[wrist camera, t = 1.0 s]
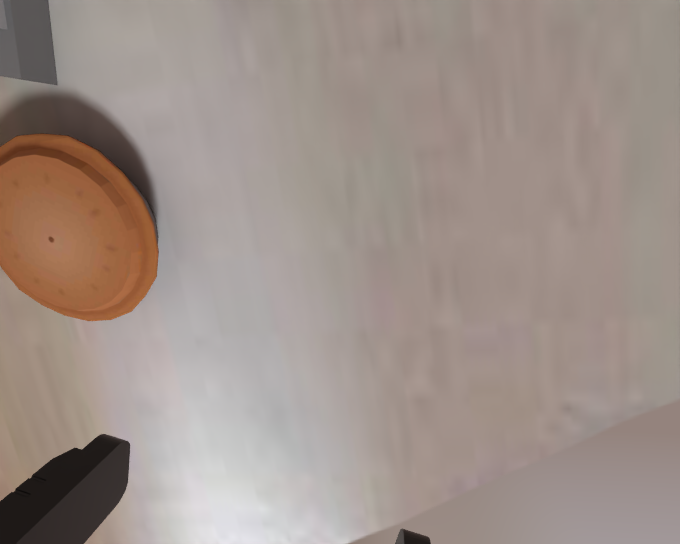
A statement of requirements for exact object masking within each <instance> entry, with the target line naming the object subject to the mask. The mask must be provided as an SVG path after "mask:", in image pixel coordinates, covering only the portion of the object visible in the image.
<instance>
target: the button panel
mask: <svg viewBox="0 0 680 544" xmlns="http://www.w3.org/2000/svg"><path fill="white" fill-rule="evenodd" d="M0 76H4V77H10V78H16V79H21V80H28V81H34V82H41V83H47V84H54V85H57V78H56V69H55V60H54V51H53V42H52V33H51V24H50V15H49V7H48V0H0Z"/></svg>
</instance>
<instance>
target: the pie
mask: <svg viewBox="0 0 680 544" xmlns="http://www.w3.org/2000/svg"><path fill="white" fill-rule="evenodd" d="M158 253H159V251H158V233H157V227H156V221H155V218H154V215H153V213H152V211H151V209H150V206H149V204H148V202H147V200H146V199H145V198H144V196H143V195H142V194H141V192H140V191H139V190H138V188H137V187H136V186H135V185H134V184H133V183H132V182H131V181H130V180H129V179H128V178H127V177H126V176H125V174H124V173H123V172H122V171H121V170H120V169H119V168H117V167H116V166H115V165H114V164H113V163H112V162H111V161H110V160H109V159H107V158H106V157H105V156H104V155H103V154H102V153H101V152H100V151H99V150H97V149H95V148H93V147H91V146H88V145H86V144H84V143H82V142H80V141H78V140H76V139H74V138H72V137H70V136H66V135H54V134H43V133H42V134H31V135H21V136H16V137H15V138H13V139H12V140H10V141H9V142H7V143H6V144H4V145H3V146H1V147H0V266H1V268H2V269H3V270H4V272H5V273H6V274H7V275H8V276H9V278H10V279H11V280H12V281H13V282H14V284H15V285H16V286H17V287H18V289H19V290H21V291H22V292H24V293H25V294H27V295H28V296H30V297H31V298H32V299H34V300H35V301H37V302H38V303H40V304H41V305H43V306H45V307H47V308H50V309H52V310H54V311H56V312H58V313H60V314H63V315H65V316H69V317H74V318H78V319H82V320H86V321H99V320H112V319H114V318H117V317H119V316H122V315H124V314H127V313H129V312H131V311H132V310H133V309H134V308H135V307H136V306H137V305H138V304H139V302H140V301H141V300H142V299H143V298H144V297H145V295H146V294H147V292H148V290H149V289H150V287H151V285H152V284H153V282H154V280H155V279H156V277H157V266H158Z"/></svg>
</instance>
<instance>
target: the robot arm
mask: <svg viewBox="0 0 680 544" xmlns="http://www.w3.org/2000/svg"><path fill="white" fill-rule="evenodd" d="M129 456H130V443H129V442H128V441H125V440H122V439H119V438H116V437H113V436H109V435H106V434H102V435H99V436H98V437H96V438H95V439H94V440H93V441H92V442H90V443H89V444H88V445H87V446H86V447H85V448H83V449H82V450H81V449H78V448H74V449H71V450H69V451H67V452H65V453H63V454H61V455H59V456H57V457H55V458H53V459H52V460H50V461H49V462H48V463H47V464H45V465H44V466H43V467H42V468H41V469H39V470H38V471H37V472H36V473H34V474H33V475H32V477H31V478H30V479H29V478H28V479H27V480H26V481H25V482H23V483H22V484H21V485H20V486H18V487H17V488H16V490H15V491H14V492H11V493H10V494H9V495H7V496H6V497H5V498H4V499H3V500H1V501H0V544H84V543H85V542H86V541H87V539H88V538H89V537H90V536H91V535H92V534H93V532H94V531H95V530H96V529H97V528H98V527H99V525H100V524H101V523H102V522H103V521H104V519H105V518H106V517H107V516H108V515H109V514H110V512H111V511H112V510H113V509H114V508H115V507H116V505H117V504H118V503H119V501H120V500H121V498H122V496H123V494H124V492H125V490H126V487H127V483H128V472H129ZM395 544H431V543H430V539H429V537H427V536H424V535H420V534H417V533H414V532H411V531H408V530H405V529H401V530H400V532H399V534H398V537H397V540H396V543H395Z"/></svg>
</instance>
